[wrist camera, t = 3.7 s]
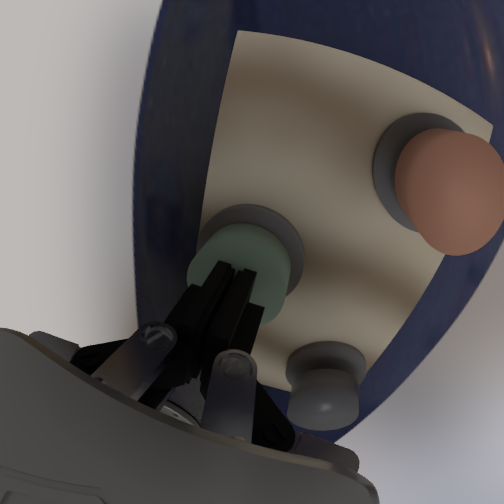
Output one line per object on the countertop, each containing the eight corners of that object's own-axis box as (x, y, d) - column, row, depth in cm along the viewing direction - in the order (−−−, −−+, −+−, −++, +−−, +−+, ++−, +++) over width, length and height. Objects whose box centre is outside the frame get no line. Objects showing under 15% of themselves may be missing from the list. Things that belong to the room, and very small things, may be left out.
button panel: (340, 379, 21) (339, 409, 19) (197, 337, 23) (183, 365, 20) (470, 122, 10) (500, 127, 8) (250, 42, 11) (233, 26, 9)
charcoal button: (340, 408, 17) (338, 434, 15) (283, 396, 17) (278, 422, 15) (370, 376, 15) (372, 405, 13) (305, 361, 15) (301, 391, 13)
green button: (277, 310, 15) (270, 338, 13) (200, 285, 15) (183, 310, 13) (302, 239, 12) (298, 263, 10) (210, 212, 13) (191, 231, 11)
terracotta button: (458, 244, 10) (479, 268, 8) (379, 211, 10) (391, 233, 8) (493, 156, 8) (521, 168, 6) (413, 109, 8) (435, 109, 6)
